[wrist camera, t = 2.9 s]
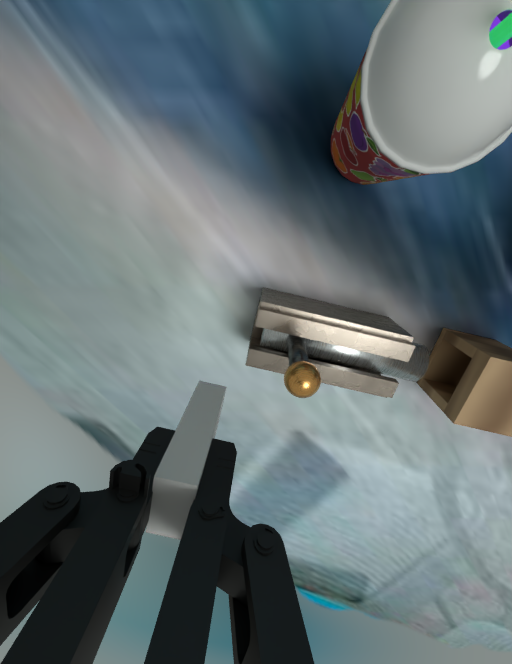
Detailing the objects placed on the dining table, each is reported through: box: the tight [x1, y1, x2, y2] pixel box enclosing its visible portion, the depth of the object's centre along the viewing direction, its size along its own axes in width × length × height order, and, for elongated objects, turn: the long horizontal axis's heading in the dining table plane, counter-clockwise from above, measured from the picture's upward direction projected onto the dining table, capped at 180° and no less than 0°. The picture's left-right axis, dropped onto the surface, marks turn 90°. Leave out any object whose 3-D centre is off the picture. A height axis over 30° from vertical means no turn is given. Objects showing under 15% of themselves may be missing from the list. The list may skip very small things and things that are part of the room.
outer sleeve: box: [246, 288, 415, 398], centre depth 30 cm, size 14×6×7 cm, turn 77°
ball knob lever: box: [260, 328, 429, 398], centre depth 26 cm, size 16×4×12 cm, turn 77°
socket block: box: [417, 328, 512, 437], centre depth 30 cm, size 6×7×8 cm
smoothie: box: [331, 0, 512, 185], centre depth 18 cm, size 8×8×20 cm
